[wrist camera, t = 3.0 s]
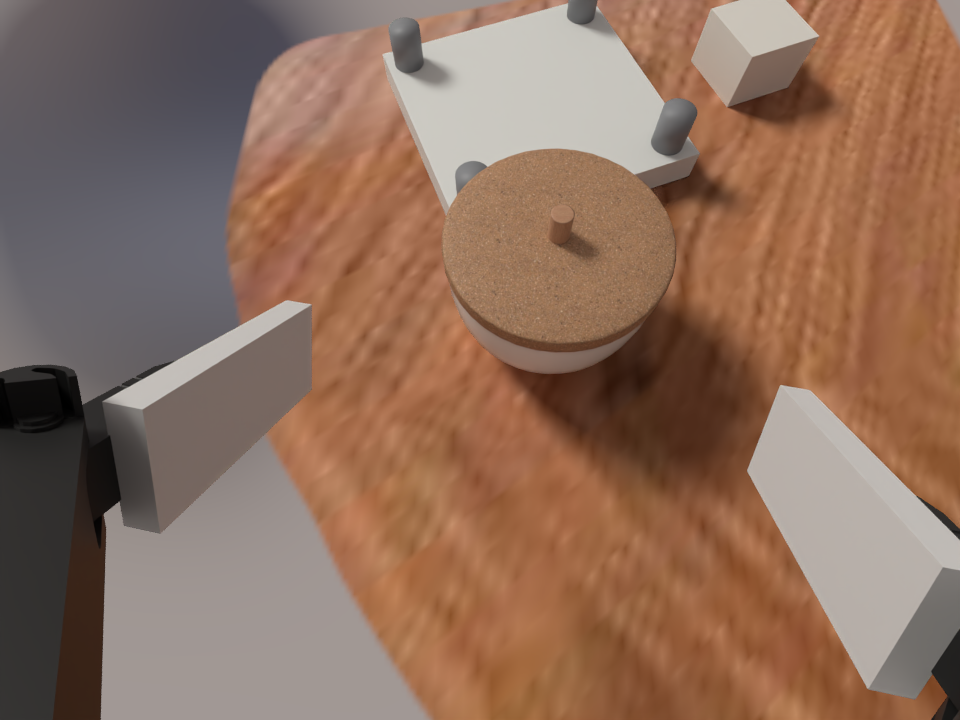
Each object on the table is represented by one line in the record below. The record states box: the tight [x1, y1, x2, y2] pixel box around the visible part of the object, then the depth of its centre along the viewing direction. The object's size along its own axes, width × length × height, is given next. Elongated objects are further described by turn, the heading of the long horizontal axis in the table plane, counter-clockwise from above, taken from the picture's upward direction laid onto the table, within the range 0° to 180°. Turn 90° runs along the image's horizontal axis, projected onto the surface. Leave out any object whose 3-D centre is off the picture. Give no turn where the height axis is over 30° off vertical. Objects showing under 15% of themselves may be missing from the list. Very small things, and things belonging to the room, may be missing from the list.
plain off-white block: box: [691, 0, 819, 107], centre depth 37 cm, size 5×5×4 cm
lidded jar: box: [442, 148, 676, 374], centre depth 27 cm, size 11×11×9 cm
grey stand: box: [383, 0, 700, 215], centre depth 35 cm, size 16×16×4 cm
